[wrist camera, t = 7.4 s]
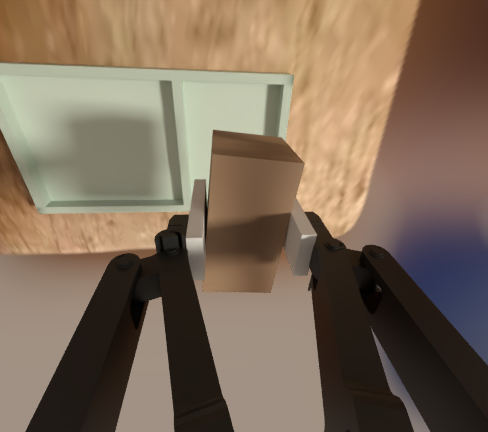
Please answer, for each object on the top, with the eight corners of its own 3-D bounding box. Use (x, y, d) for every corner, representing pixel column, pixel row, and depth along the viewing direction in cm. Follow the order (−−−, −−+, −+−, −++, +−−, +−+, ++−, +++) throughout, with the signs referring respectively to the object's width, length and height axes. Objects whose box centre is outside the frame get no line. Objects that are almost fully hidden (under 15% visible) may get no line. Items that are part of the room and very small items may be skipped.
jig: (-10, 60, 22) (-30, 61, 20) (288, 73, 25) (294, 74, 23) (50, 203, 29) (39, 213, 28) (273, 200, 32) (276, 209, 30)
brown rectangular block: (204, 243, 21) (202, 291, 16) (212, 129, 16) (212, 154, 12) (259, 246, 21) (270, 292, 17) (281, 137, 17) (304, 163, 13)
